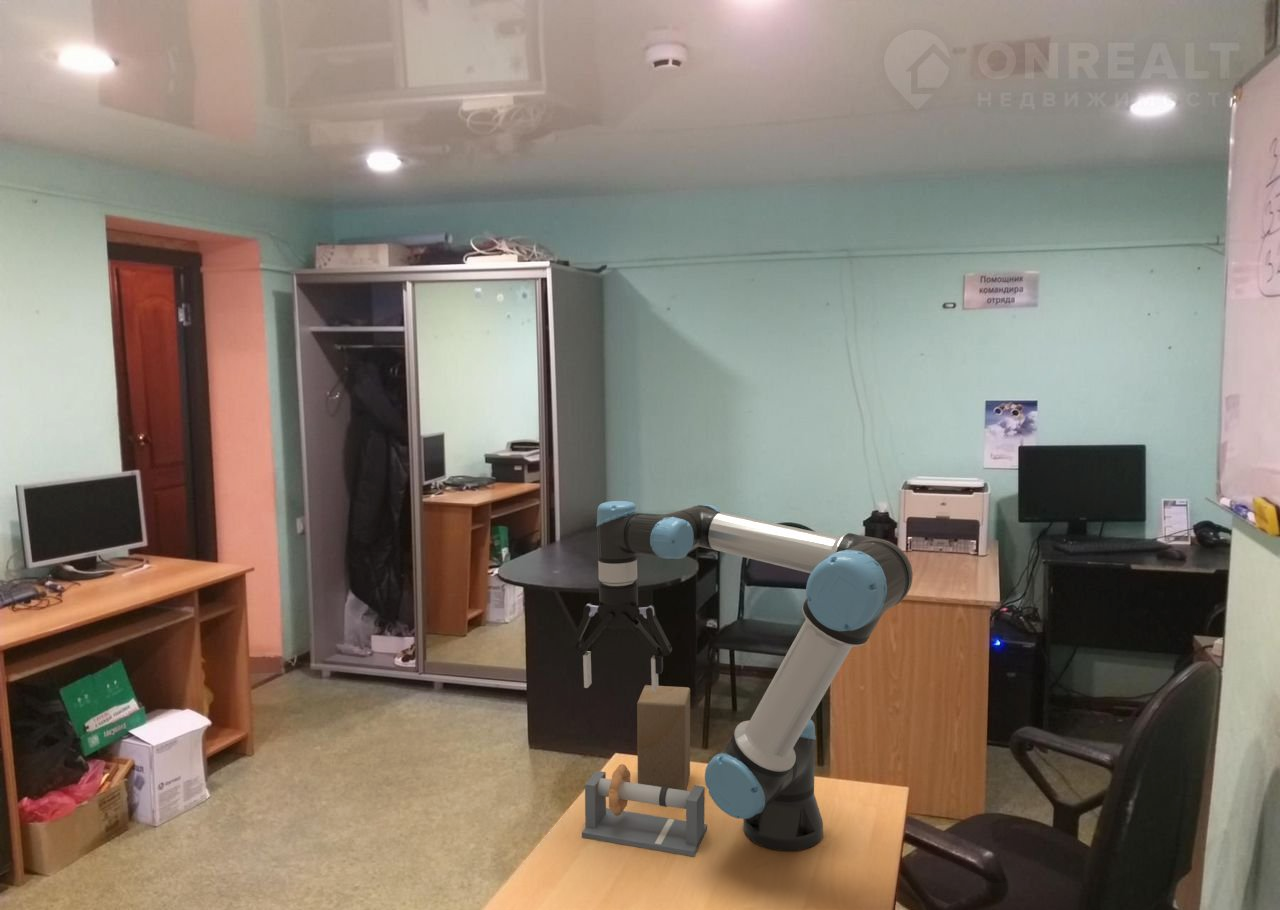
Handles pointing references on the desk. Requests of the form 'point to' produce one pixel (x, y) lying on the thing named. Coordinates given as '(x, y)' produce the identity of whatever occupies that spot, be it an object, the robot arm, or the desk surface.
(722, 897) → the desk surface
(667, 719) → the wooden block
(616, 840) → the pipe stand
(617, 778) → the o-ring
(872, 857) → the desk surface
